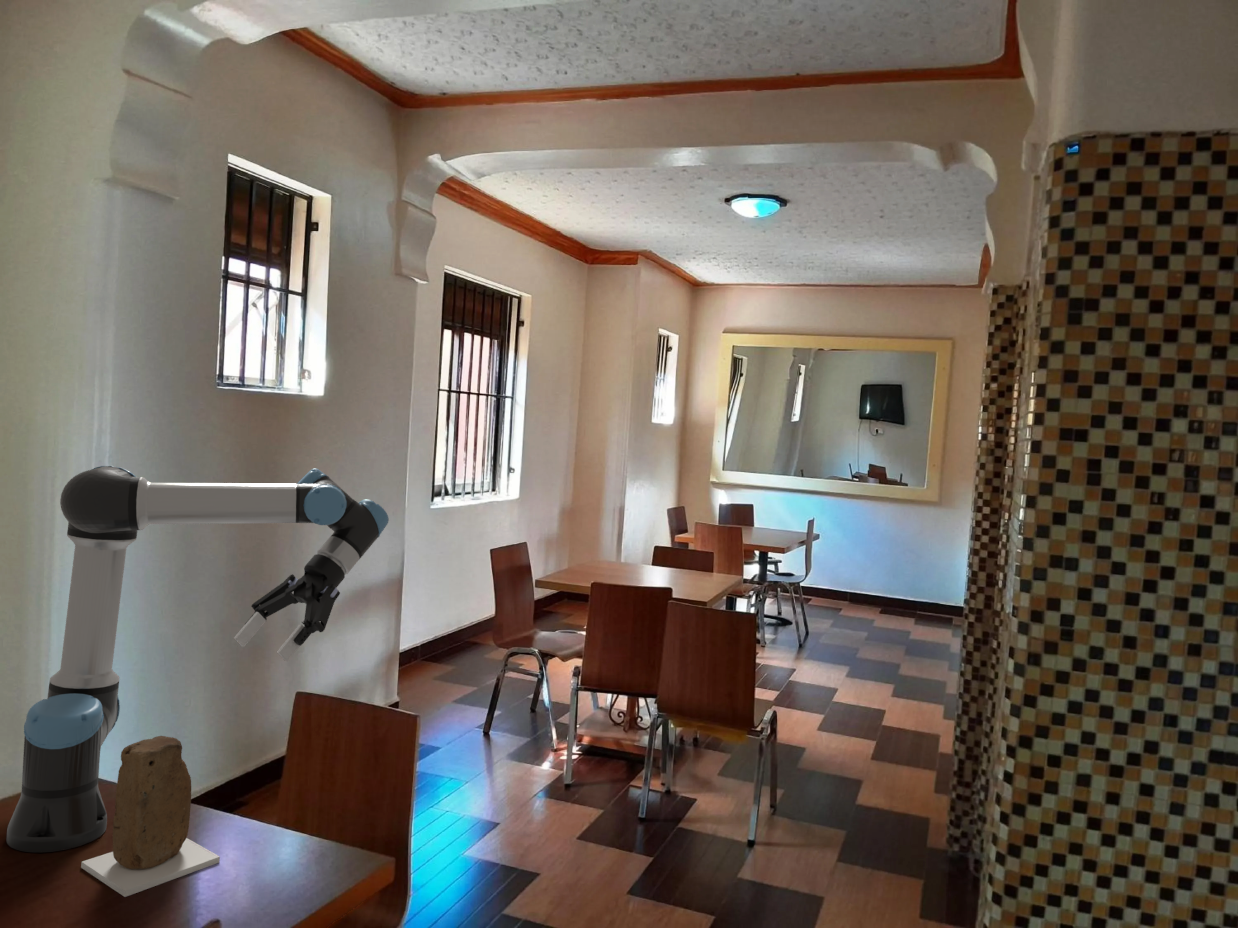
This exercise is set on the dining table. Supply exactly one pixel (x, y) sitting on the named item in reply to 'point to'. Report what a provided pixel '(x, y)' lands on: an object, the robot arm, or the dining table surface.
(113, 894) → the dining table surface
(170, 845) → the block
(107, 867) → the mat
